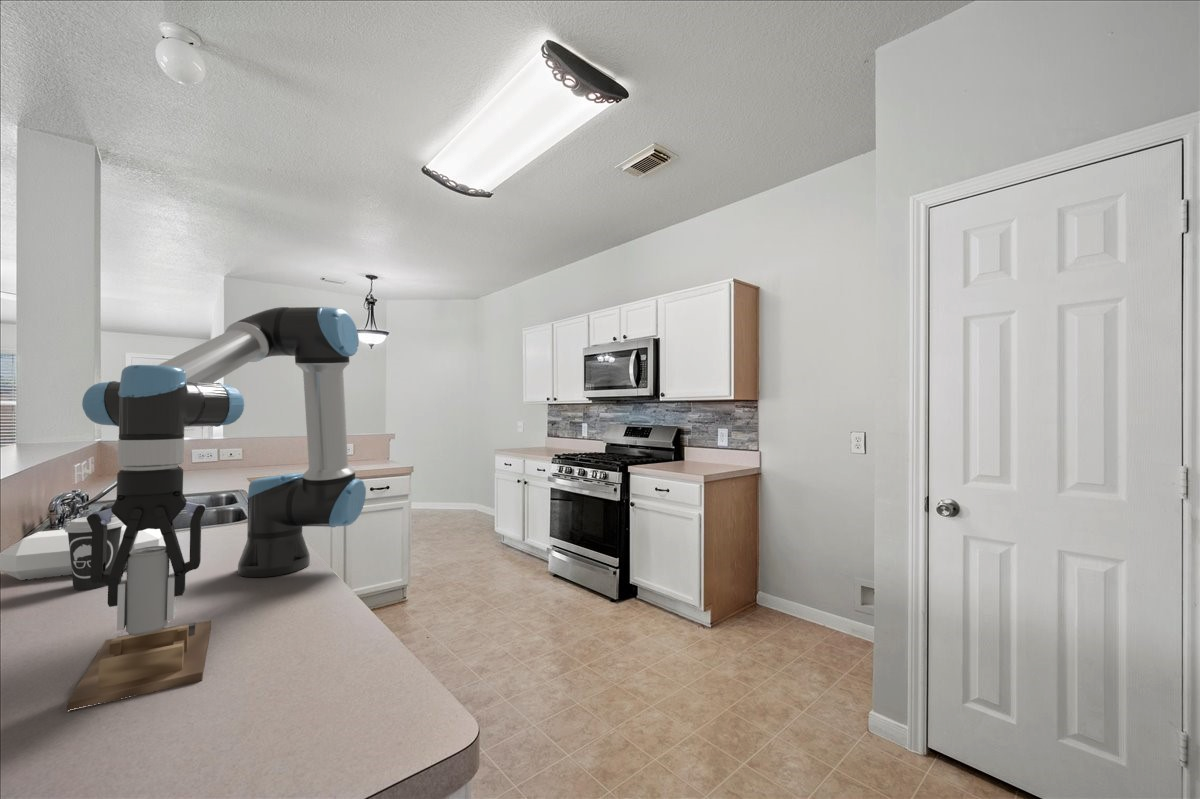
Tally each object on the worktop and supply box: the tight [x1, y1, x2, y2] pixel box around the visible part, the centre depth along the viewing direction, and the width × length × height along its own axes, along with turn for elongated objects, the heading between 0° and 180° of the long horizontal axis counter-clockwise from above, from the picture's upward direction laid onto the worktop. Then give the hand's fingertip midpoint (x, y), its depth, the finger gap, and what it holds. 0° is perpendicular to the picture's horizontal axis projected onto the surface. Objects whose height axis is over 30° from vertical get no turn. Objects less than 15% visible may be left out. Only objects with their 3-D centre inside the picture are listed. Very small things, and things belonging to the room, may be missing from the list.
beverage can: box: [125, 546, 170, 636], centre depth 76 cm, size 5×5×12 cm
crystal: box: [0, 525, 166, 581], centre depth 126 cm, size 14×10×28 cm
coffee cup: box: [64, 515, 125, 591], centre depth 114 cm, size 10×10×15 cm
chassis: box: [66, 620, 212, 711], centre depth 80 cm, size 14×22×5 cm, turn 35°
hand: (147, 621), depth 76 cm, fingers closed on beverage can, 5 cm apart
